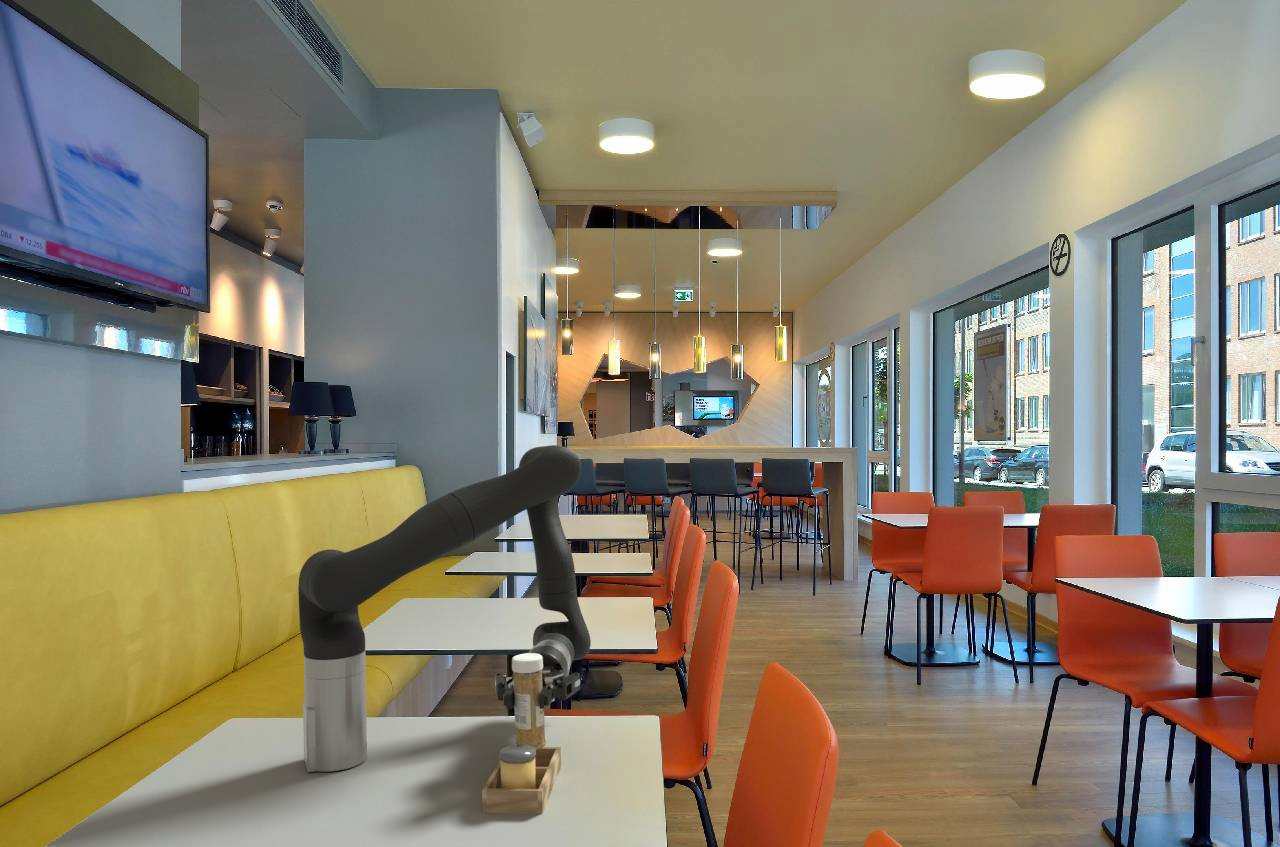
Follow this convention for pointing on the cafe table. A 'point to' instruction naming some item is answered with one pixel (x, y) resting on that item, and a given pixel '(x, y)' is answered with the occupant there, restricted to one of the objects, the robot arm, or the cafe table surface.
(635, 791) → the cafe table surface
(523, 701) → the sprinkles bottle
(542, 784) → the caddy
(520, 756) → the honey jar
